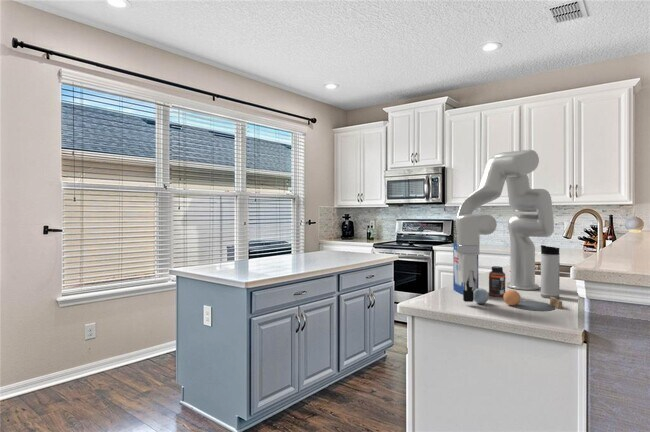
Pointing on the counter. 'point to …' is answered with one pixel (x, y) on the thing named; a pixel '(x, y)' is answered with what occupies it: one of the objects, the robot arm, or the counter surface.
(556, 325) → the counter surface
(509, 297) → the orange ball
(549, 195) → the robot arm
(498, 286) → the supplement bottle
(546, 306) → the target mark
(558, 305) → the rail
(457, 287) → the milk carton
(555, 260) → the travel mug
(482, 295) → the light blue ball
